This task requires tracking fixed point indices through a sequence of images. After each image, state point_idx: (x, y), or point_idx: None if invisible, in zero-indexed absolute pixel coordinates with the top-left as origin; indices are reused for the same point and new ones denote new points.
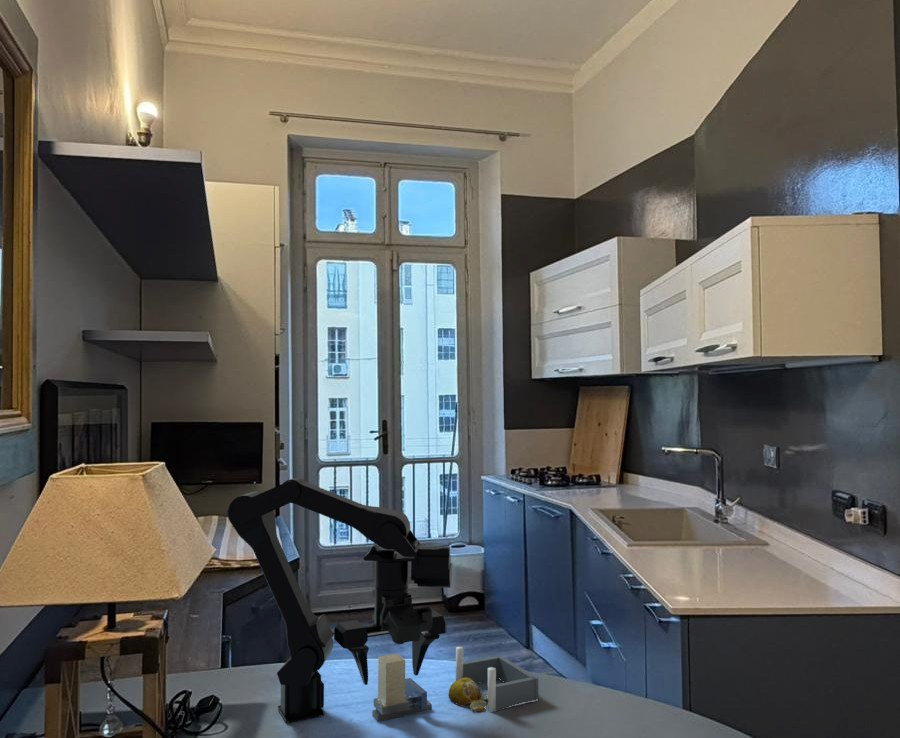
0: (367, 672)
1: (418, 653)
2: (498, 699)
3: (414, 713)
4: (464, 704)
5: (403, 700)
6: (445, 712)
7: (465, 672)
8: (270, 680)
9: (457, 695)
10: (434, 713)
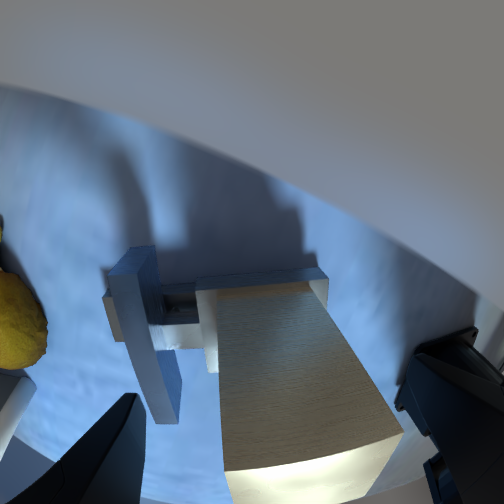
0: (457, 381)
1: (95, 493)
2: None
3: (173, 284)
4: (14, 275)
5: (225, 298)
6: (70, 254)
7: (2, 399)
8: (392, 467)
9: (17, 303)
10: (105, 261)
